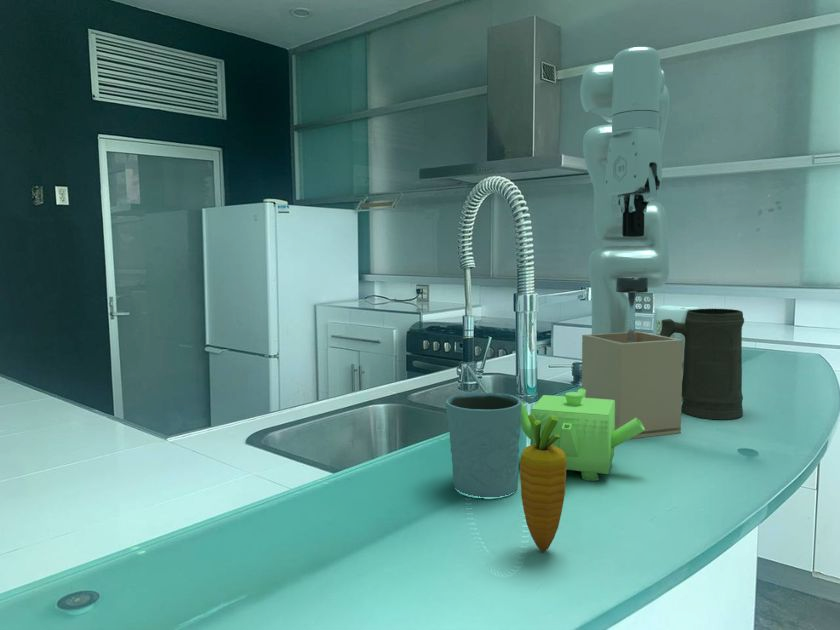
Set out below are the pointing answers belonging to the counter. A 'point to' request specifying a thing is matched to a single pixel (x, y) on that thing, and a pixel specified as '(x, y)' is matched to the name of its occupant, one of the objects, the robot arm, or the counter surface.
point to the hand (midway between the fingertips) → (633, 236)
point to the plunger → (631, 298)
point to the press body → (636, 378)
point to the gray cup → (484, 442)
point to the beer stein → (711, 362)
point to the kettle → (582, 430)
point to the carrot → (543, 483)
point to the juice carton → (676, 315)
